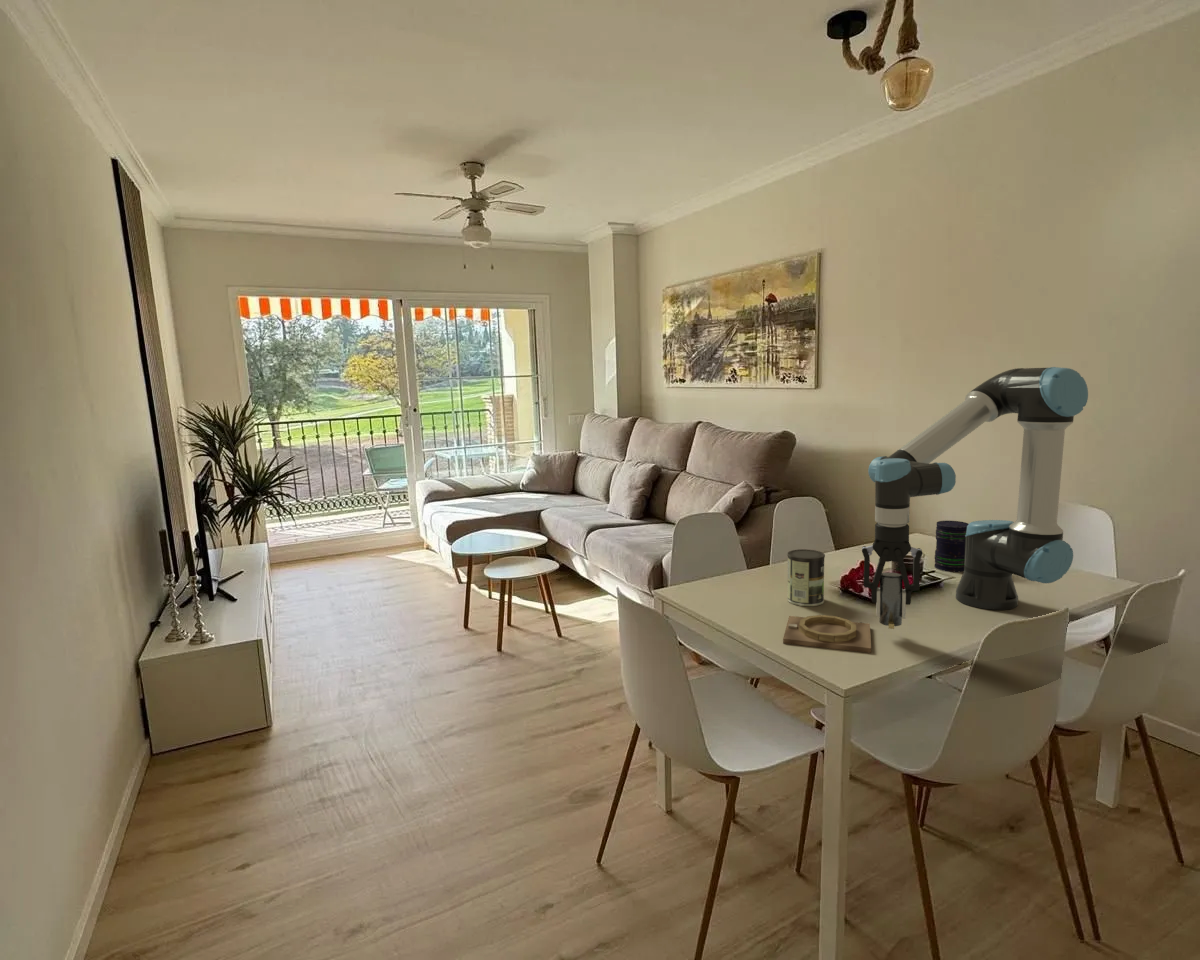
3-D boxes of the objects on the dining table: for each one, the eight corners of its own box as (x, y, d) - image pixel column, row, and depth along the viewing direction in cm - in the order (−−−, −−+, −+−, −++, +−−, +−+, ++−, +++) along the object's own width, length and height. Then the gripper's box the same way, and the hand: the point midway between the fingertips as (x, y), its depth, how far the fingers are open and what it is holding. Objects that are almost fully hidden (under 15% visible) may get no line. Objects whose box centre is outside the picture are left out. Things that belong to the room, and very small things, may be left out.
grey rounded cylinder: (900, 617, 164) (901, 571, 162) (902, 629, 156) (903, 581, 154) (878, 615, 165) (879, 569, 163) (880, 627, 158) (880, 580, 156)
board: (869, 628, 168) (869, 617, 168) (871, 653, 153) (871, 641, 153) (789, 620, 175) (789, 610, 175) (783, 643, 161) (783, 632, 160)
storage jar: (927, 564, 220) (929, 521, 218) (955, 562, 221) (957, 519, 219) (946, 573, 210) (948, 528, 208) (974, 571, 211) (977, 526, 209)
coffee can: (821, 595, 194) (822, 549, 192) (826, 607, 184) (827, 559, 182) (785, 594, 196) (786, 548, 194) (788, 606, 186) (788, 558, 184)
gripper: (932, 520, 157) (929, 613, 161) (851, 518, 163) (851, 607, 167) (935, 528, 150) (933, 624, 154) (851, 525, 156) (851, 618, 160)
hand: (890, 615), depth 160 cm, fingers closed on grey rounded cylinder, 5 cm apart
